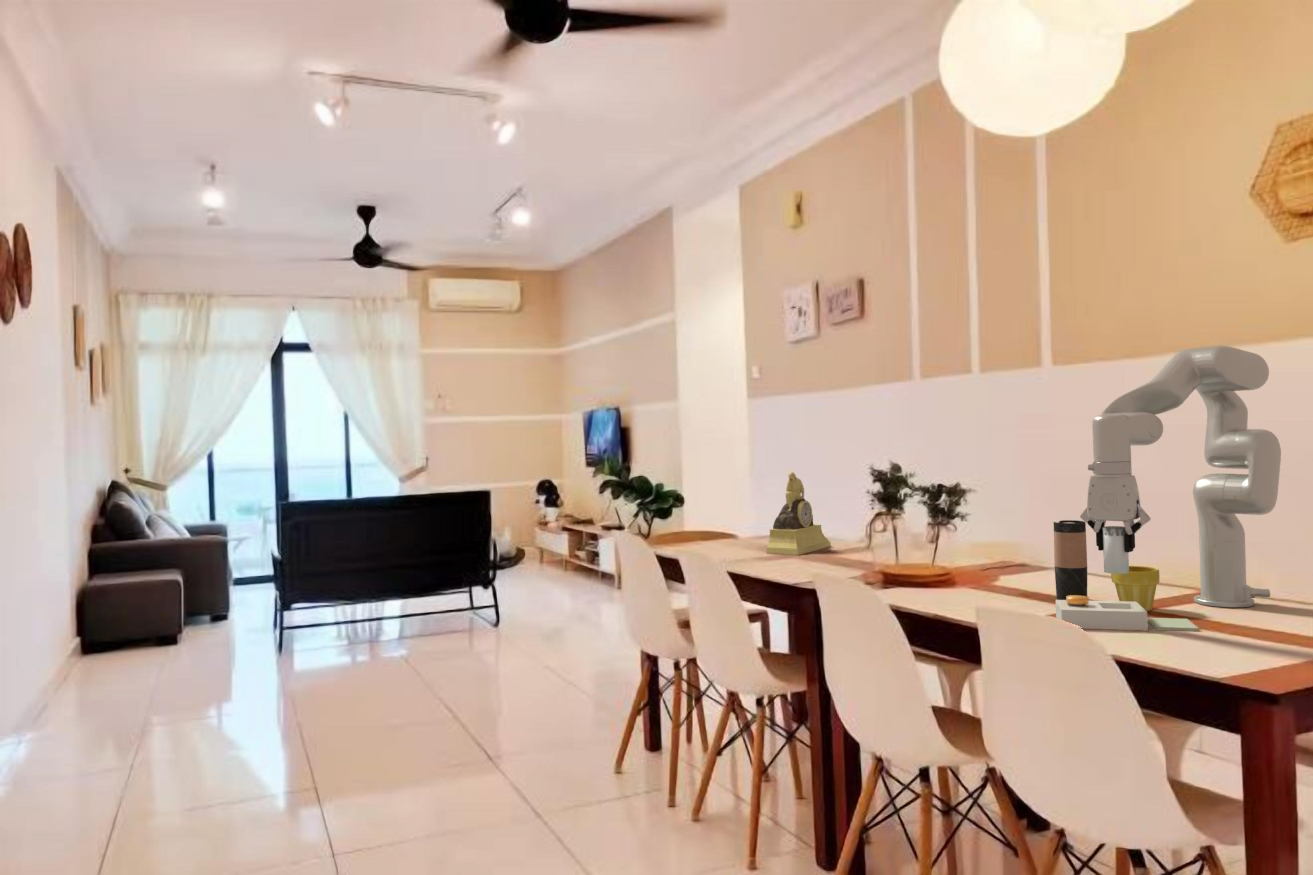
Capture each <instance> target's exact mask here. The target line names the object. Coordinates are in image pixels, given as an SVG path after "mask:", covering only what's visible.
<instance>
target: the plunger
mask: <svg viewBox="0 0 1313 875" xmlns="http://www.w3.org/2000/svg"><path fill="white" fill-rule="evenodd" d="M1089 598H1090V597H1088V595H1087V596H1080V595H1070V596H1066V602H1067V603H1070V607H1085V604H1088V603H1089V601H1090V600H1089Z"/></svg>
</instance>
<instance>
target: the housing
mask: <svg viewBox="0 0 1313 875" xmlns="http://www.w3.org/2000/svg"><path fill="white" fill-rule="evenodd" d="M1055 618H1056V619H1057V618H1058V619H1060V620H1064V621H1066V622H1069V623H1072V624H1075V625H1078V626H1080V627H1082V628H1081V629H1089V630H1090V629H1092V630H1121V631H1122V630H1123V631H1148V630H1149V629H1148V619H1147V618H1148V611H1146V610H1145V609H1144V608H1142V607H1141V606H1140V605H1139V604H1138V603H1137V602H1130V601H1119V600H1089V603H1088V604H1085V607H1070V603H1067V602H1066V600H1057V599H1055Z"/></svg>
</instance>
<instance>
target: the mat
mask: <svg viewBox="0 0 1313 875" xmlns="http://www.w3.org/2000/svg"><path fill="white" fill-rule="evenodd" d="M1147 622H1149V624H1150V625H1152V626H1153V627H1154V628H1155V629H1156V630H1157V631H1181V632H1183V631H1185V632H1187V631H1189V632H1199V631H1200V628H1199V627H1198V626H1197V625H1195V624H1194V622H1192V621H1191V620H1189V619H1188V618H1177V617H1176V618H1173V617H1172V618H1171V617H1147Z"/></svg>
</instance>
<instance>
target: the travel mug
mask: <svg viewBox="0 0 1313 875" xmlns="http://www.w3.org/2000/svg"><path fill="white" fill-rule="evenodd" d="M1086 525H1087V523H1086V522H1085V521H1084V520H1074V519H1072V520H1071V519H1068V520H1066V519H1062V520H1059V521H1058V522H1056V521H1053V552H1054V554H1053V558H1054V560H1053V561H1054V562H1053V563H1054V565H1053V566H1054V578H1055V580H1054V581H1055V592H1056V600H1066V596H1070V595H1080V596H1087V597H1088V554H1087V553H1088V552H1087V548H1088V547H1087V529H1086V528H1087V526H1086Z"/></svg>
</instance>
